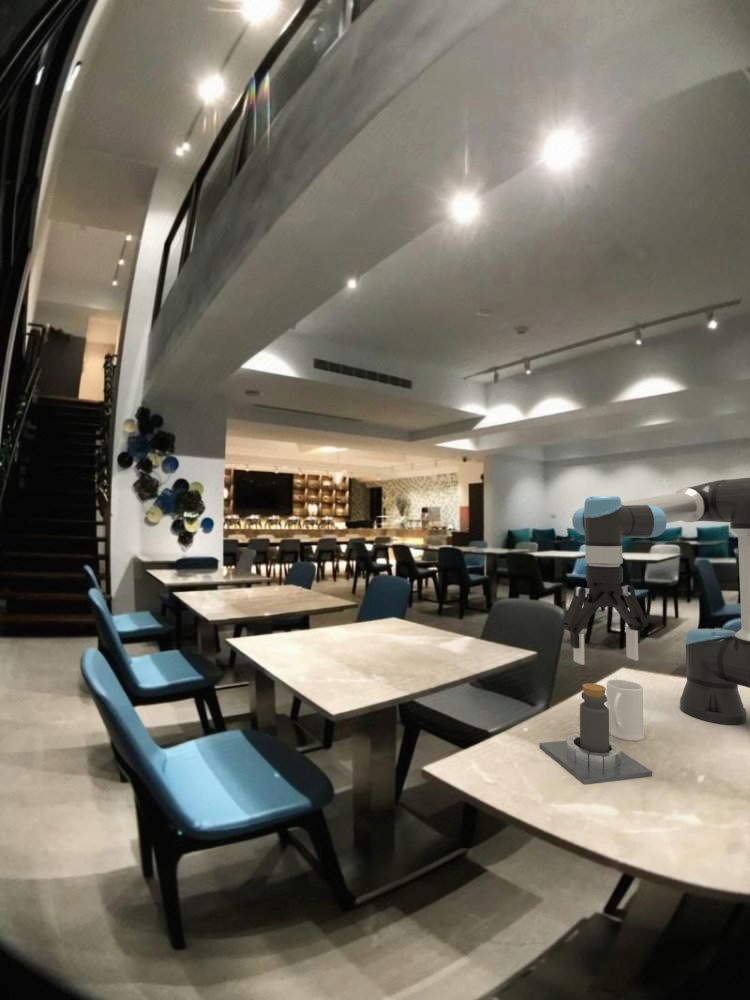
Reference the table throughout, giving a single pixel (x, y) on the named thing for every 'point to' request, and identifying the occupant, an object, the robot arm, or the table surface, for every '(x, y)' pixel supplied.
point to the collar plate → (594, 772)
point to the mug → (625, 710)
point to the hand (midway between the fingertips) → (606, 660)
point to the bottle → (594, 719)
